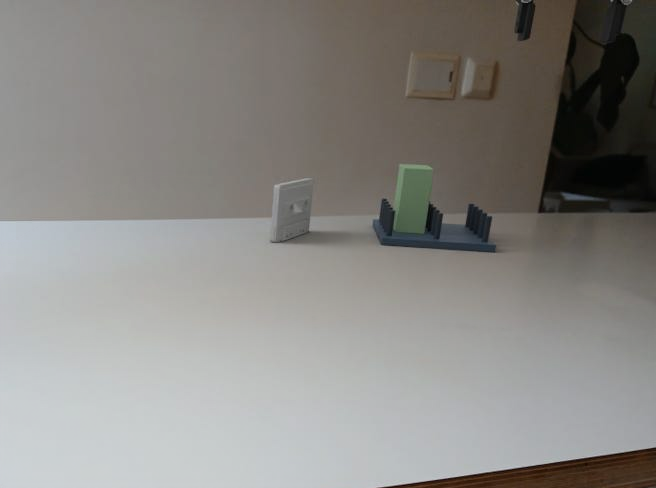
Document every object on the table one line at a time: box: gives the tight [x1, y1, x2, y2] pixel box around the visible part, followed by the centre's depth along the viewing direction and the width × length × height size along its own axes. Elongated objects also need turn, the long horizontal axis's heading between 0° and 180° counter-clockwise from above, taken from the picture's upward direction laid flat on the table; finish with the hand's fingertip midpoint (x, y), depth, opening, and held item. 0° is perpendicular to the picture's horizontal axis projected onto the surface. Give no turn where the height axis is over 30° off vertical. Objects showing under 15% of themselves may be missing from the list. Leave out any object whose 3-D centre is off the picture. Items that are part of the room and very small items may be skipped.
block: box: [393, 163, 435, 234], centre depth 107 cm, size 4×6×9 cm, turn 170°
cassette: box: [269, 177, 315, 243], centre depth 104 cm, size 12×2×8 cm, turn 148°
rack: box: [372, 198, 497, 253], centre depth 107 cm, size 15×16×4 cm
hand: (564, 41), depth 90 cm, fingers open, 9 cm apart
